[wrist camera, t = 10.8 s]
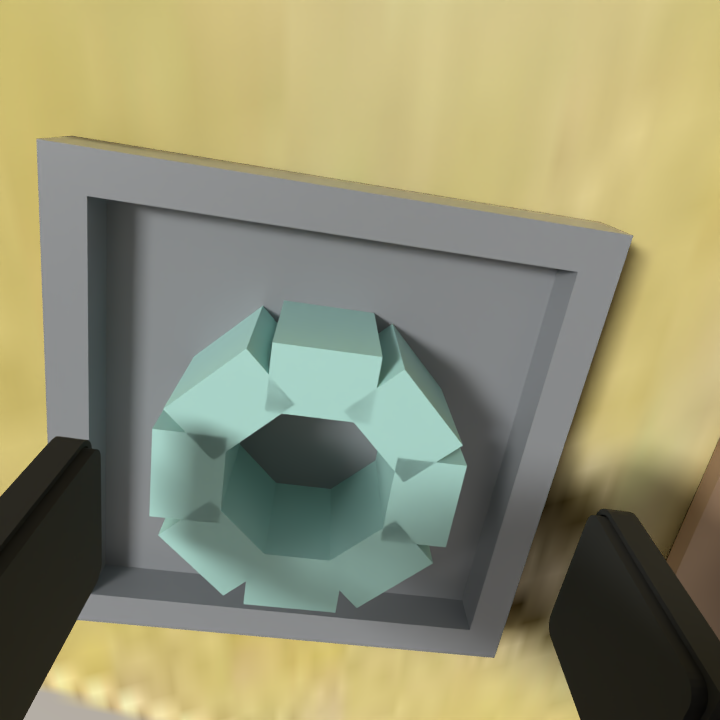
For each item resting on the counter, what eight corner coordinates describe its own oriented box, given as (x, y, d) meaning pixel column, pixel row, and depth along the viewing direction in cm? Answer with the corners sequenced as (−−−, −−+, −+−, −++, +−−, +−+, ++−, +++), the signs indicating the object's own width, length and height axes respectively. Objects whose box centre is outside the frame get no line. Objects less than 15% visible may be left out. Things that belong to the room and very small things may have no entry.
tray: (600, 222, 15) (633, 235, 14) (481, 612, 20) (494, 657, 18) (72, 135, 14) (36, 138, 12) (79, 573, 19) (54, 617, 17)
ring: (463, 325, 16) (491, 371, 13) (412, 543, 18) (426, 621, 15) (189, 287, 15) (155, 327, 12) (176, 518, 17) (146, 594, 15)
